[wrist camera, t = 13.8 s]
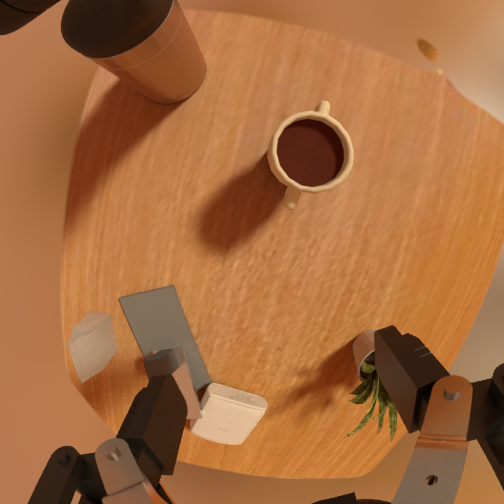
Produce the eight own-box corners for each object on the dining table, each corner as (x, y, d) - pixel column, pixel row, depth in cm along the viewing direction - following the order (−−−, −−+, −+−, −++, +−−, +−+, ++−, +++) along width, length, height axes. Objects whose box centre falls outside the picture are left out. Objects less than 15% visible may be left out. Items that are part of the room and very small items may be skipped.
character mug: (305, 210, 36) (330, 227, 24) (251, 191, 36) (250, 198, 23) (332, 131, 34) (370, 111, 21) (280, 111, 33) (293, 78, 21)
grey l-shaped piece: (154, 349, 41) (135, 361, 34) (183, 346, 41) (168, 358, 34) (174, 417, 40) (160, 437, 33) (203, 416, 40) (192, 436, 33)
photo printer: (270, 413, 40) (238, 452, 43) (267, 395, 44) (238, 435, 47) (207, 395, 38) (183, 437, 41) (209, 377, 43) (186, 420, 45)
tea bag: (110, 313, 41) (79, 346, 31) (117, 349, 42) (92, 386, 33) (91, 311, 41) (58, 341, 31) (99, 347, 42) (72, 380, 33)
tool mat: (120, 297, 40) (118, 298, 39) (173, 284, 39) (172, 286, 39) (164, 390, 44) (163, 392, 43) (213, 384, 43) (212, 386, 43)
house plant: (346, 396, 44) (371, 467, 28) (302, 350, 42) (322, 430, 26) (413, 348, 42) (460, 407, 26) (379, 293, 39) (435, 352, 23)
